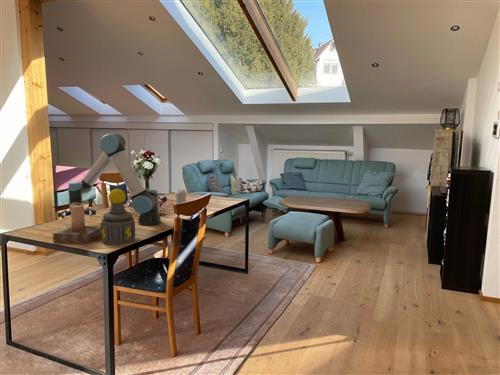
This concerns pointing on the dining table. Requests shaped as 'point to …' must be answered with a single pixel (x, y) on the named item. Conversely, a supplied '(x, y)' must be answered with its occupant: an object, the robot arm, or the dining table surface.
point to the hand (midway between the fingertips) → (77, 216)
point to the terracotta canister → (77, 218)
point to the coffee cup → (180, 196)
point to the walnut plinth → (77, 235)
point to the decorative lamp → (117, 221)
